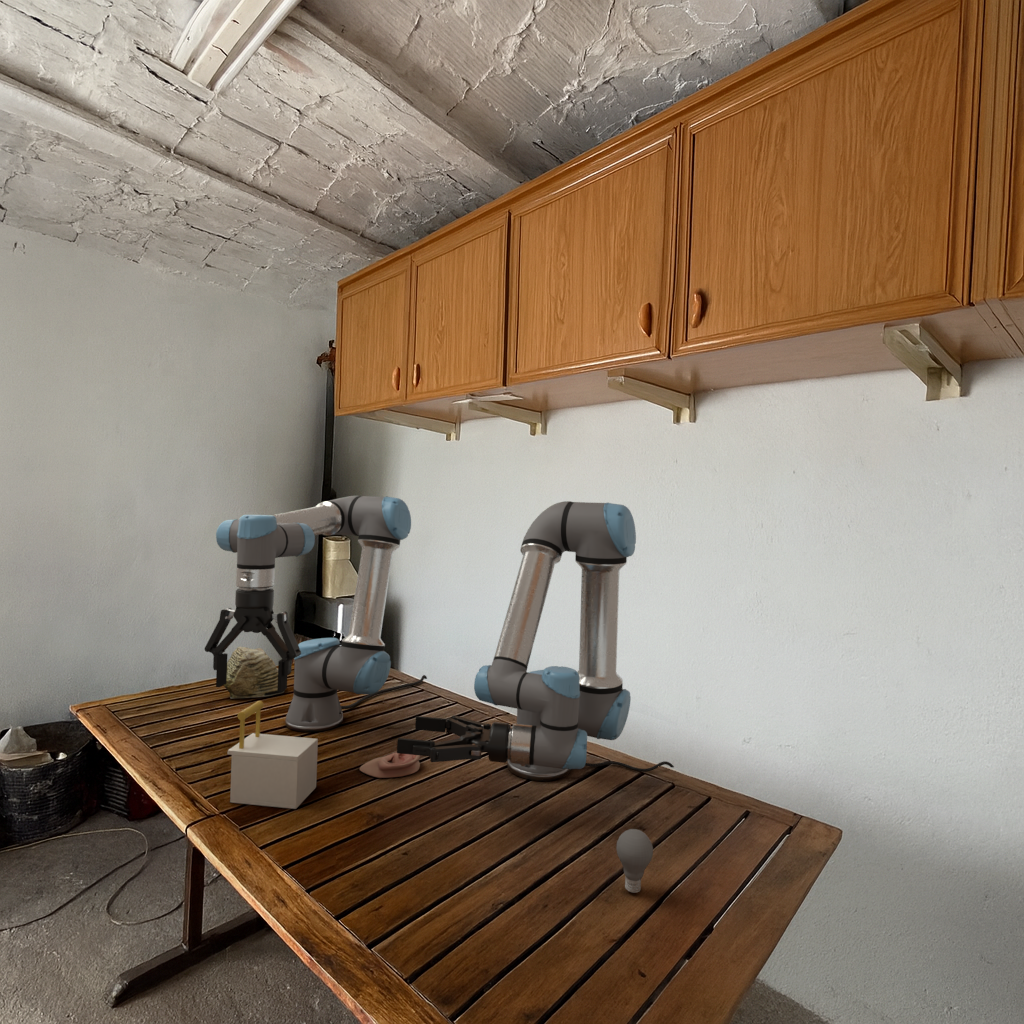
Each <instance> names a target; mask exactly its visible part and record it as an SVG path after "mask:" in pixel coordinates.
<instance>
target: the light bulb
mask: <svg viewBox="0 0 1024 1024" xmlns="http://www.w3.org/2000/svg"><path fill="white" fill-rule="evenodd" d="M615 849H616V854H617V857H618V859H619V861H620V863H621V865H622V867H623V873H624V874H623V875H624V876H625V878H624V888H625V890H627V891H628V892H630V893H634V894H635V893H639V892H640V891H641V889H642V887H641V886H642V879H643V877H644V875H645V871H646V868H647V867H648V866H649V864H650V863H651V861H652V859H653V855H654V847H653V843H652V841H651V838H649V836H648V835H647V834H646V833H645V832H643V831H642V830H641V829H636V828H629V829H627V830H625V831H623V832H622V833H621V834H620V835H619V837H618V839H617V841H616V847H615Z"/></svg>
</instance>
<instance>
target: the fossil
mask: <svg viewBox="0 0 1024 1024" xmlns="http://www.w3.org/2000/svg"><path fill="white" fill-rule="evenodd" d="M223 687H224V688H225V690H226V691H228V693H229V698H230V699H250V698H264V697H271V696H275V695H281V694H284V693H285V691H286V690H287V689H285V690H284V691H282V692H277V689H278V667H277V665H276V663H275V662H274V660H273V659H272V658H271V657H270V656H269V655H268V654H267V653H266V652H265V650H264V649H263V648H260V647H258V648H251V647H247V646H246V647H245V646H238V647H237V648H236V649H235V650H233V651H232V653H231V656H230V657H229V659H227V682H226V684H225V685H223Z"/></svg>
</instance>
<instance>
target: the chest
mask: <svg viewBox="0 0 1024 1024" xmlns="http://www.w3.org/2000/svg"><path fill="white" fill-rule="evenodd" d="M318 743H319V742H318ZM318 743H317V744H316V745H315V746H313V747H312V748H311V749H310V750H309V751H308V752H307V753H306V754H305V755H304V756H302V757H301V758H300V759H299V760H298V761H294V760H283V759H272V758H261V757H250V756H239V755H231V762H230V763H231V766H230V792H229V793H230V796H229V803H231V804H233V803H234V804H241V805H242V804H243V805H253V806H262V807H270V808H271V807H273V808H282V809H290V810H291V809H292V810H297V808H298V807H300V805H301V804H303V802H304V801H305V800H307V798H308V797H309V796H310V795H311V793H312V792H313V791H315V789H316V788H317V776H318V775H317V774H318V750H319V749H318V748H319V744H318Z"/></svg>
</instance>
